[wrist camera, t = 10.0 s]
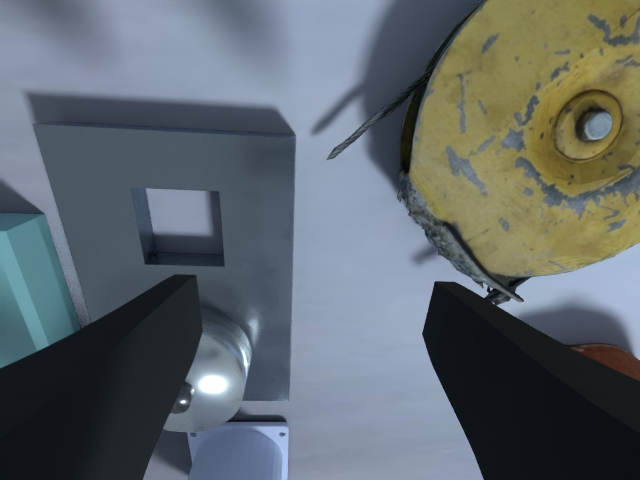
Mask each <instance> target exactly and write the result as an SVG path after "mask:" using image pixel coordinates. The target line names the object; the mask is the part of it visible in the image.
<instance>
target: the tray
mask: <svg viewBox="0 0 640 480" xmlns="http://www.w3.org/2000/svg"><path fill="white" fill-rule="evenodd" d="M80 329H81V328H80V325H79V321H78V318H77V315H76V312H75V309H74V306H73V303H72V299H71V296H70V293H69V290H68V287H67V284H66V281H65V278H64V274H63V271H62V268H61V265H60V262H59V259H58V256H57V252H56V249H55V246H54V243H53V240H52V237H51V234H50V230H49V227H48V224H47V221H46V218H45V215H44V214H24V213H0V368H2V367H4V366H7V365H9V364H11V363H13V362H15V361H18V360H20V359H22V358H24V357H26V356H28V355H30V354H32V353H35V352H37V351H39V350H41V349H43V348H45V347H47V346H49V345H51V344H53V343H55V342H57V341H59V340H61V339H63V338H65V337H67V336H69V335H71V334H73V333H74V332H76V331H78V330H80Z"/></svg>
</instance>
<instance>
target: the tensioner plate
mask: <svg viewBox="0 0 640 480" xmlns="http://www.w3.org/2000/svg"><path fill="white" fill-rule="evenodd" d="M33 127H34V130H35V134H36V137H37V140H38V144H39V147H40V151H41V154H42V157H43V161H44V164H45V167H46V171H47V174H48V177H49V181H50V184H51V187H52V191H53V194H54V198H55V201H56V204H57V208H58V211H59V214H60V218H61V221H62V224H63V228H64V231H65V234H66V238H67V241H68V245H69V248H70V251H71V255H72V258H73V261H74V265H75V268H76V271H77V275H78V278H79V281H80V285H81V288H82V292H83V295H84V298H85V302H86V305H87V308H88V312H89V315H90V318H91V322H94V321H96V320H98V319H100V318H101V317H103V316H105V315H107V314H109V313H110V312H112V311H114V310H115V309H117V308H119V307H120V306H122V305H124V304H125V303H127V302H129V301H130V300H132V299H134V298H135V297H137V296H139V295H140V294H142V293H144V292H145V291H147V290H148V289H150V288H152V287H153V286H155V285H157V284H158V283H160V282H162V281H163V280H165V279H167V278H169V277H171V276H173V275H175V274H186V275H196V276H197V284H198V293H199V301H200V309H201V318H202V326H203V332H202V335H201V339H200V342H199V346H198V349H197V352H196V355H195V358H194V361H193V364H192V366H191V368H190V370H189V373H188V375H187V377H186V379H185V382H184V384H183V386H182V388H181V390H180V393H179V395H178V397H177V399H176V401H175V403H174V406H173V408H172V410H171V412H170V414H169V416H168V419H167V421H166V423H165V425H164V427H163V429H164V430H169V431H175V432H198V431H204V430H209V429H212V428H215V427H217V426H219V425H222V424H223V423H225V422H226V421H228V420H229V419H230V418H232V417H233V416H234V415H235V413H236V412H237V411H238V409H239V408H240V405H241V403H242V401H289V390H290V357H291V316H292V275H293V235H294V194H295V153H296V135H287V134H269V133H251V132H233V131H215V130H197V129H179V128H161V127H143V126H125V125H107V124H89V123H71V122H48V123H37V124H33ZM145 188H153V189H176V190H199V191H219V196H220V209H221V222H222V236H223V249H224V255H217V254H186V253H157V252H156V247H155V241H154V235H153V229H152V224H151V218H150V212H149V206H148V201H147V195H146V189H145Z"/></svg>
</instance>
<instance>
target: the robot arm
mask: <svg viewBox="0 0 640 480" xmlns="http://www.w3.org/2000/svg"><path fill="white" fill-rule="evenodd" d="M202 332H203V326H202V318H201V309H200V301H199V293H198V284H197V276H196V275H186V274H175V275H173V276H171V277H169V278H167V279H165V280H163V281H162V282H160V283H158V284H157V285H155V286H153V287H152V288H150V289H148V290H147V291H145V292H144V293H142V294H140V295H139V296H137V297H135V298H134V299H132V300H130V301H129V302H127V303H125V304H124V305H122V306H120V307H119V308H117V309H115V310H114V311H112V312H110V313H109V314H107V315H105V316H103V317H101V318H100V319H98V320H96V321H94V322H92V323H91V324H89V325H87V326H85V327H83V328H82V329H80V330H78V331H76V332H74V333H73V334H71V335H69V336H67V337H65V338H63V339H61V340H59V341H57V342H55V343H53V344H51V345H49V346H47V347H45V348H43V349H41V350H39V351H37V352H35V353H32V354H30V355H28V356H26V357H24V358H22V359H20V360H18V361H15V362H13V363H11V364H9V365H7V366H4V367H2V368H0V480H143V477H144V474H145V471H146V469H147V466H148V463H149V460H150V457H151V455H152V453H153V450H154V448H155V445H156V443H157V441H158V438H159V436H160V434H161V432H162V429H163V427H164V425H165V423H166V421H167V419H168V416H169V414H170V412H171V410H172V408H173V406H174V403H175V401H176V399H177V397H178V395H179V393H180V390H181V388H182V386H183V384H184V382H185V379H186V377H187V375H188V373H189V370H190V368H191V366H192V364H193V361H194V358H195V355H196V352H197V349H198V346H199V342H200V339H201V335H202ZM422 335H423V338H424V341H425V344H426V348H427V351H428V354H429V357H430V360H431V363H432V365H433V367H434V370H435V372H436V374H437V376H438V378H439V380H440V382H441V385H442V387H443V389H444V391H445V393H446V395H447V397H448V399H449V401H450V403H451V405H452V407H453V410H454V412H455V414H456V416H457V418H458V420H459V422H460V424H461V426H462V428H463V430H464V432H465V434H466V437H467V439H468V441H469V443H470V446H471V448H472V450H473V452H474V455H475V457H476V460H477V463H478V465H479V468H480V471H481V473H482V476H483V479H484V480H640V381H639V380H637V379H634V378H632V377H630V376H628V375H625V374H623V373H621V372H619V371H616V370H614V369H612V368H610V367H608V366H606V365H604V364H602V363H600V362H598V361H596V360H594V359H591V358H589V357H587V356H585V355H583V354H581V353H579V352H577V351H575V350H573V349H571V348H569V347H567V346H566V345H564V344H562V343H560V342H558V341H556V340H555V339H553V338H551V337H549V336H547V335H545V334H544V333H542V332H540V331H538V330H536V329H535V328H533V327H531V326H530V325H528V324H526V323H524V322H523V321H521V320H519V319H518V318H516V317H514V316H512V315H511V314H509V313H507V312H506V311H504V310H503V309H501V308H499V307H498V306H496V305H494V304H493V303H491V302H489V301H488V300H486V299H484V298H483V297H481V296H479V295H478V294H476V293H474V292H473V291H471V290H469V289H467V288H466V287H464V286H462V285H460V284H458V283H456V282H441V281H435V283H434V288H433V292H432V296H431V300H430V304H429V308H428V313H427V317H426V321H425V325H424V329H423V333H422ZM288 435H289V425H288V424H287V423H285V422H225V423H223V424H222V425H219V426H217V427H215V428H212V429H209V430H204V431H198V432H187V437H188V442H189V448H190V454H191V459H192V467H191V471H190V474H189V477H188V480H287V476H288Z"/></svg>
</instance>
